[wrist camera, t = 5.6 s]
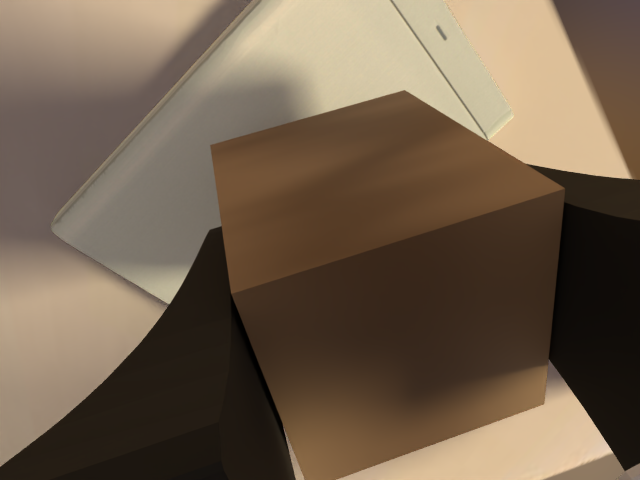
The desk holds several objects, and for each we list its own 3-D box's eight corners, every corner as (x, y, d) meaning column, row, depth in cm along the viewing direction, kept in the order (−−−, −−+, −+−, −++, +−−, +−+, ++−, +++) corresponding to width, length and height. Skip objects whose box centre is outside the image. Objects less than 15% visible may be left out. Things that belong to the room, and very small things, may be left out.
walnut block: (404, 89, 12) (565, 188, 7) (420, 250, 15) (544, 404, 10) (210, 144, 11) (231, 293, 6) (264, 300, 14) (308, 489, 9)
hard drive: (254, 358, 18) (522, 119, 15) (45, 233, 13) (372, -123, 11) (248, 329, 19) (493, 106, 17) (57, 207, 15) (350, -114, 13)
